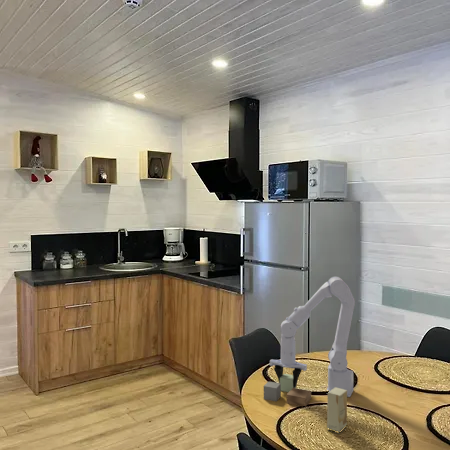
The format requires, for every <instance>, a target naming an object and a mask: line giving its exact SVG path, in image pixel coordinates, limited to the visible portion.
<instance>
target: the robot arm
mask: <svg viewBox="0 0 450 450" xmlns="http://www.w3.org/2000/svg"><path fill="white" fill-rule="evenodd" d="M332 295H333V296H334V297H336V298H337V299H338V300H339V301H340V309H339V316H338V318H337V319H338V320H337V324H336V325H337V326H336V330H335V334H334V335H335V336H334V342H333V343H332V346H331V349H330V350H329V352H328V353H327V358H328V360H329V362H330V363H329V364H328V367H327V388H326V389H327V390H329V391H331V390H332V389H334V388H335V387H337V388H340V389H344V390H347V398H351V396H352V394H353V392H354V389H355V388H354V370H350V369H348V363H349V362H348V359H347V355H348V349H347V347H348V341H349V336H350V333H351V332H350V330H351V325H352V321H353V315H354V310H355V304H356V300H355V298H354V295H353V293H352V291H351V288H350V286H348V284H347V283H346V282H345V281H344V280H343V279H342V278H341V277H340V276H331V277H330V278H329V279H328V281H325V282H324V283H323V284H322V285H321V286H320V287H319V288H318V289H317V291H316V292H315V293H314V294H313V295H312V296H311V298H309V300H307V302H306V303H305V304H304V305H299V306H298V307H294V308H293V311H292V312H291V314H290V315H289V316H286V318H285V320H283V321H282V322H281V324H280V359H273V358H272V359H270V360H269V366H270V367H272V366H274V368H273V370H274V372H275V374H276V377H277V379H278V383H280V377H281V376H282V375H283V374H284V368H286V369H293V370H292V375H293V388H297V384H298V380H299V378H300V375H301V373H302V371H305V372H306V371H307V370H308V364H304V363H302V362H298V361H296V339H295V337H296V333H297V330H298V329H300V328H301V327H302V325H304V323H305V322H307V320H308V319H309V318H311V311H313V310H314V309H315V308H316V307H317V306H318V305H319V304H320V303H321V302H322V301H323V300H324V299H328V298H332V297H333V296H332Z"/></svg>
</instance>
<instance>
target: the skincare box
mask: <svg viewBox="0 0 450 450" xmlns="http://www.w3.org/2000/svg"><path fill="white" fill-rule="evenodd" d="M326 405H327V415H326V416H327V417H326V419H327V420H326V421H327V422H326V423H327V427H326V429H327V428H329V429H332V430H335V431H338V432H340V431H341V430H342V429H343V428H344V427H345V426H346V425H347V426H348V397H347V390H344V389H340V388H337V387H335V388H334V389H332V390H331V391H329V392H328V393H327V404H326Z"/></svg>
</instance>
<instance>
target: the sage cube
mask: <svg viewBox="0 0 450 450" xmlns="http://www.w3.org/2000/svg"><path fill="white" fill-rule="evenodd" d="M280 383H281V392H287V393H288V392H289V391H290V390H291V389H292V388H293V374H288V373H283V375H282V376H281V377H280Z"/></svg>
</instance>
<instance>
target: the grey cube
mask: <svg viewBox="0 0 450 450" xmlns="http://www.w3.org/2000/svg"><path fill="white" fill-rule="evenodd" d="M281 395H282V391H281V383H279V382H274V381H267V382H266V383H265V384H264V385H263V400H265V401H266V400H267V401H271V402H277V401H278V400H279V399H280V398H281V397H282V396H281Z"/></svg>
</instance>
